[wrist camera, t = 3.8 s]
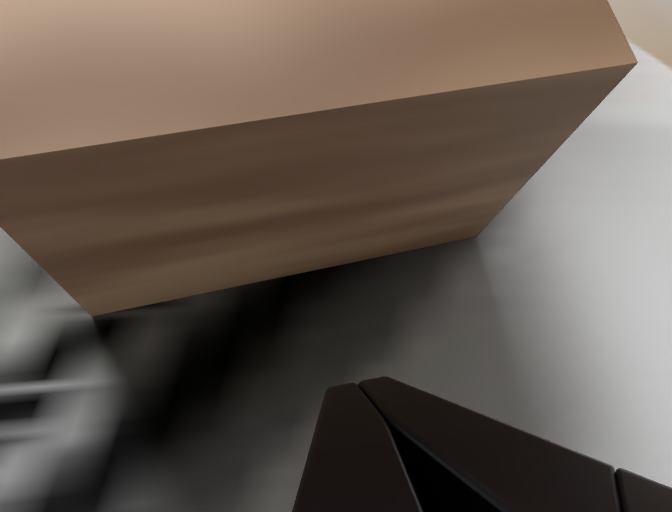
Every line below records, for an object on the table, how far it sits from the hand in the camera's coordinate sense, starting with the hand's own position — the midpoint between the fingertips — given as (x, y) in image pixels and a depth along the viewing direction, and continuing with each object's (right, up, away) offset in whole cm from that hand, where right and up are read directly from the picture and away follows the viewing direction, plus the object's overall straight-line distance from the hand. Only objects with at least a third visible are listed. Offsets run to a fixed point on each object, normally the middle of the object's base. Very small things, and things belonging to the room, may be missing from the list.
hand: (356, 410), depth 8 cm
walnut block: (-3, +8, +13) cm, 15 cm away
